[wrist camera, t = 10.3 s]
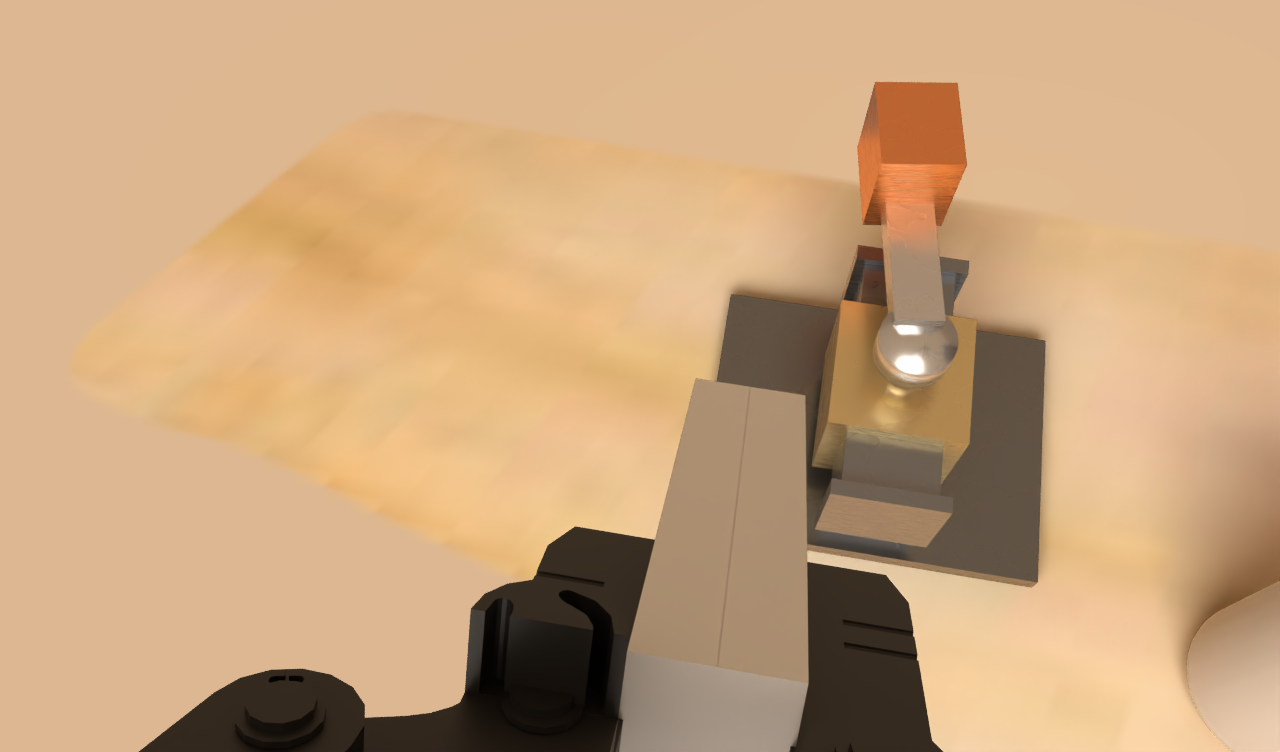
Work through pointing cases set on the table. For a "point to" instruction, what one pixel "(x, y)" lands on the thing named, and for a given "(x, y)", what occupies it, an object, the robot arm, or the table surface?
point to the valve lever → (912, 221)
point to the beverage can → (1240, 672)
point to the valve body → (904, 431)
